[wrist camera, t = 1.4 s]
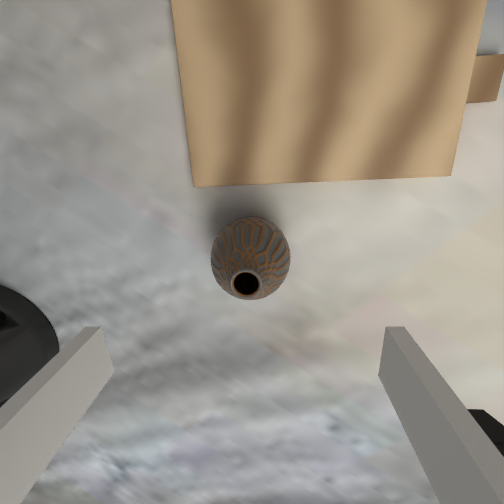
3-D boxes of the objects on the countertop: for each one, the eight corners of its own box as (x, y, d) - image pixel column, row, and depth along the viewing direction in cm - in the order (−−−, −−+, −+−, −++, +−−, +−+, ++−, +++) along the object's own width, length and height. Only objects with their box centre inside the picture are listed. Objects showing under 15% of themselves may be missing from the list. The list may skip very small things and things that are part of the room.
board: (197, 185, 25) (193, 186, 24) (174, -4, 20) (169, -13, 19) (470, 173, 23) (481, 174, 22) (519, -38, 18) (535, -50, 17)
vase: (269, 197, 25) (269, 220, 17) (298, 259, 27) (311, 305, 19) (206, 228, 26) (178, 262, 18) (238, 284, 28) (226, 338, 20)
